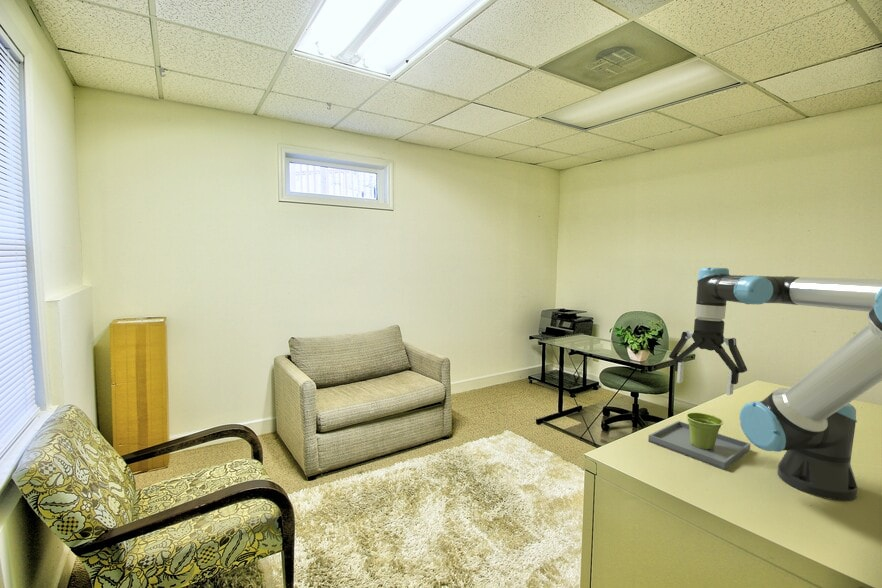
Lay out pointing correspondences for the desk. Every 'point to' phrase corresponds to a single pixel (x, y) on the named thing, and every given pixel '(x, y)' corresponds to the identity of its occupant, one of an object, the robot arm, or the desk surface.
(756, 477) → the desk surface
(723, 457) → the tray
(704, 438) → the plant pot
